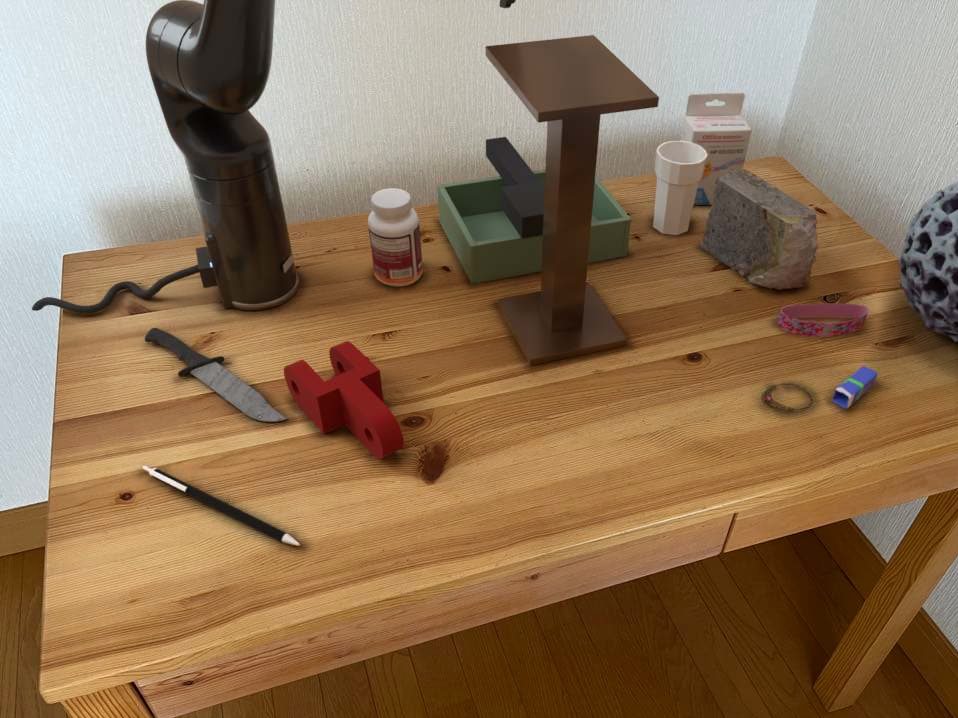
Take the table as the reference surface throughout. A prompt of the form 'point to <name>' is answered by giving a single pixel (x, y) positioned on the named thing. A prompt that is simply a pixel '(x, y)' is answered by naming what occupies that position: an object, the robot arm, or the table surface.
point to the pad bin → (496, 240)
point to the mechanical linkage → (347, 399)
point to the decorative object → (933, 262)
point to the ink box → (716, 138)
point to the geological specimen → (761, 232)
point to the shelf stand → (567, 186)
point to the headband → (822, 310)
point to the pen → (221, 506)
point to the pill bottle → (395, 238)
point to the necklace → (768, 399)
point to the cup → (677, 184)
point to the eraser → (854, 387)
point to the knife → (217, 377)
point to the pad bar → (518, 188)
